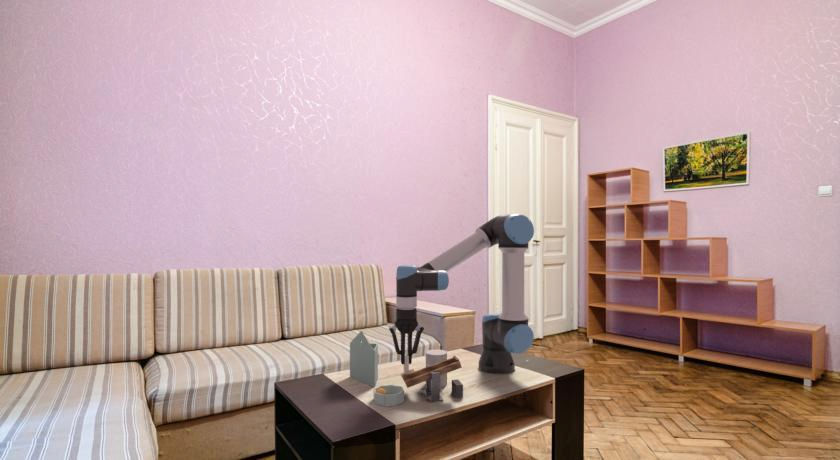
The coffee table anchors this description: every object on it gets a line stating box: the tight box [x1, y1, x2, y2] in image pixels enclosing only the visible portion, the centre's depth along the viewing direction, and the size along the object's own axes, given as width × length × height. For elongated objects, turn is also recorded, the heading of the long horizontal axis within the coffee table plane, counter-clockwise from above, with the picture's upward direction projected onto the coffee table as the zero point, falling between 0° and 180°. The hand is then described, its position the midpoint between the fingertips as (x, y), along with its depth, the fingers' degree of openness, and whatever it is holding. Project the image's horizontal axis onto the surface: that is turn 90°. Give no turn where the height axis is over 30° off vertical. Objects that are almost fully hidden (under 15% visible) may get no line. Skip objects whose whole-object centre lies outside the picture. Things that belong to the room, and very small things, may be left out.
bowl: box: [373, 384, 405, 407], centre depth 152 cm, size 10×10×4 cm
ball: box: [376, 388, 386, 395], centre depth 151 cm, size 4×4×4 cm
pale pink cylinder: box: [425, 349, 448, 388], centre depth 168 cm, size 8×8×12 cm
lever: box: [400, 355, 462, 388], centre depth 158 cm, size 20×13×3 cm
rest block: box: [451, 378, 464, 399], centre depth 157 cm, size 2×6×4 cm, turn 12°
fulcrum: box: [422, 364, 444, 404], centre depth 155 cm, size 5×10×10 cm, turn 12°
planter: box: [349, 330, 379, 388], centre depth 173 cm, size 16×8×20 cm, turn 41°
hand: (406, 372), depth 160 cm, fingers closed
